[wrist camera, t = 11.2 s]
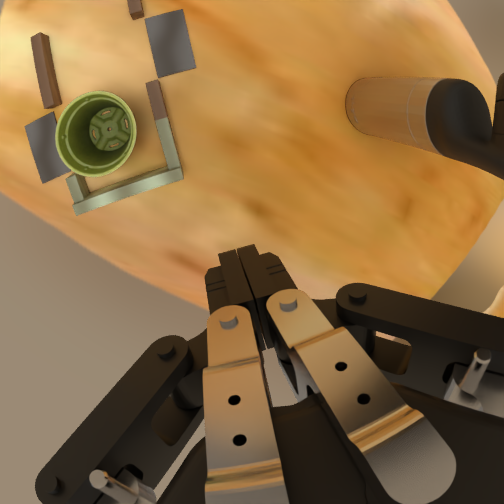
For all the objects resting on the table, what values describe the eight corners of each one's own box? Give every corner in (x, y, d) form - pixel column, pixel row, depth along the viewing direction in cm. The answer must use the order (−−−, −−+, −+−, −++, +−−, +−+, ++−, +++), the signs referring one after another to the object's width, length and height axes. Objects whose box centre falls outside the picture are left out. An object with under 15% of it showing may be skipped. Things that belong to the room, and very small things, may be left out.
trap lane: (177, -11, 28) (178, -22, 24) (218, 162, 40) (222, 168, 37) (11, 57, 25) (-2, 54, 22) (56, 217, 38) (47, 227, 34)
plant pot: (135, 84, 33) (123, 78, 25) (153, 149, 38) (146, 160, 30) (71, 109, 32) (46, 111, 25) (90, 172, 37) (70, 189, 29)
